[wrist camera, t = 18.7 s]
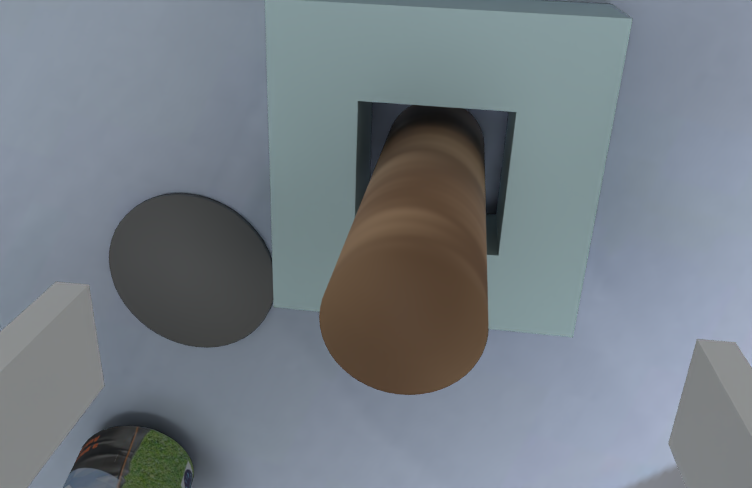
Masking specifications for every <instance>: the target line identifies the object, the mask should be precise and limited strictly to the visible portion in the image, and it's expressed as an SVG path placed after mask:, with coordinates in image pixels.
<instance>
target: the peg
mask: <svg viewBox="0 0 752 488" xmlns="http://www.w3.org/2000/svg"><path fill="white" fill-rule="evenodd" d="M319 319H320V329H321V333H322V337H323V339H324V342H325V345H326V347H327V348H328V350H329V352H330V354H331V355H332V357H333V358H334V359H335V361H336V362H337V363H338V364H339V365H340V366H341V367H342V368H343V369H344V370H345V371H346V372H347V373H348V374H350V375H351V376H352V377H354V378H355V379H357V380H358V381H360V382H362V383H364V384H366V385H368V386H370V387H372V388H375V389H377V390H381V391H385V392H388V393H394V394H404V395H415V394H424V393H430V392H434V391H437V390H440V389H443V388H445V387H448V386H450V385H452V384H453V383H455V382H457V381H458V380H460V379H461V378H462V377H464V376H465V375H466V374H467V373H468V372H469V371H470V370H471V369H472V368H473V367H474V366H475V364H476V363H477V362H478V360H479V359H480V357H481V355H482V353H483V351H484V348H485V345H486V342H487V337H488V326H489V323H488V282H487V241H486V201H485V160H484V139H483V134H482V131H481V129H480V126H479V125H478V123H477V121H476V120H475V118H474V117H473V116H472V115H471V114H470V113H469V112H468V111H467V110H466V109H464V108H452V107H437V106H423V105H412V106H410V107H408V108H407V109H406V110H404V111H403V112H402V113H401V114H400V115H399V116H398V117H397V119H396V120H395V122H394V123H393V125H392V127H391V130H390V132H389V134H388V137H387V139H386V142H385V144H384V147H383V149H382V152H381V154H380V157H379V159H378V162H377V164H376V167H375V169H374V172H373V174H372V177H371V179H370V182H369V184H368V186H367V189H366V191H365V194H364V196H363V199H362V201H361V204H360V206H359V209H358V211H357V214H356V216H355V219H354V221H353V224H352V226H351V229H350V231H349V234H348V236H347V238H346V241H345V243H344V246H343V248H342V251H341V253H340V256H339V258H338V261H337V263H336V266H335V268H334V271H333V273H332V276H331V278H330V281H329V283H328V285H327V288H326V290H325V293H324V295H323V298H322V302H321V306H320V315H319Z"/></svg>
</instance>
